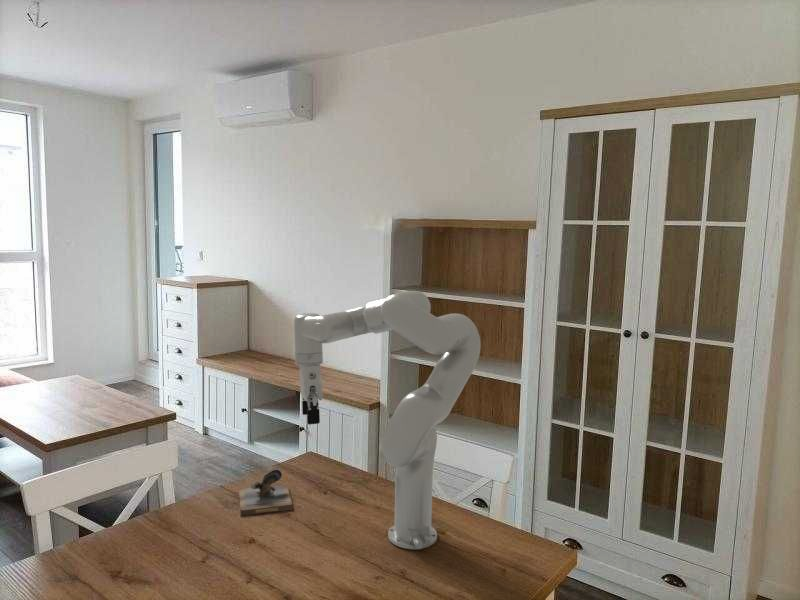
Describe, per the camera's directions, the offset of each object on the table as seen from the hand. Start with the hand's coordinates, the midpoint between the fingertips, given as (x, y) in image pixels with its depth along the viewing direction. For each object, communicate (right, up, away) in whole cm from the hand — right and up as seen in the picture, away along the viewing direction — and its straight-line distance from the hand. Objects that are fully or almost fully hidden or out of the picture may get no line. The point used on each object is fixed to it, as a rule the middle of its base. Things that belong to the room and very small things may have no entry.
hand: (310, 418), depth 163 cm
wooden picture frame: (-14, -25, +6) cm, 29 cm away
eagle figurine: (-14, -24, +7) cm, 28 cm away
